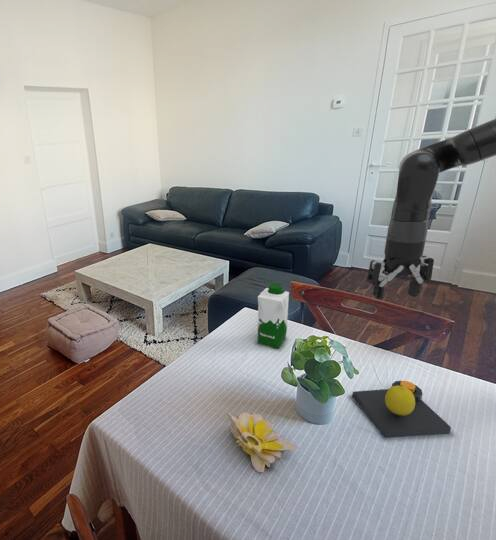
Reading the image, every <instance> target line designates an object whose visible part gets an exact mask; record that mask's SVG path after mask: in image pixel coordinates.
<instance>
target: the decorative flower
mask: <svg viewBox="0 0 496 540" xmlns="http://www.w3.org/2000/svg"><path fill="white" fill-rule="evenodd" d="M225 412H226V415H227V418H228V420H229V421H230V423H228V424H227V425H228V427H229V428H230V429H229V431H230V432H231V433H232V435H233V436H234V438H235V439H237V440H236V441H235V443H236V444H237V443H238V447H241V448H242V450H243V451H244V452H245V454H247V455H250V461H251V465H252V467H253V469H254V470H255V471H257V472H258V473H264V471H265V467H268V468H271V464H273V463H275V461H276V458H282V453H281V452H289V451H296V450H297V447H296V446H295V445H294V443H293V442H292V441H290V440H288V439H283V438H281V436H280V434H279V433H277V431H273V430H274V427H275V425H274V424H273V423H272V422H271V421H269V420H268V419H264V417H263V416H262V415H261V414H259V413H254V414H252V413H248V412H242V413H240V414H239V416H238V418H237V417H235V416H234V415H233V414H232V413H230V412H228V411H226V410H225Z"/></svg>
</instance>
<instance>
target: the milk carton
mask: <svg viewBox="0 0 496 540" xmlns="http://www.w3.org/2000/svg"><path fill="white" fill-rule="evenodd" d="M289 297H290V291H287V290H283V285H282V284H279V283H271V284H269V286H268V287H265V288H264V289H263V290H262V291H261V292H259V295H258V296H257V344H259V345H263V346H266V347H270V348H273V349H276V350H279V349H280V347H281V346H282V345H283V344H284V341H285V340H286V337H287V332H288V331H287V330H288V318H289V316H288V315H289V299H290V298H289Z"/></svg>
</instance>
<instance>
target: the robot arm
mask: <svg viewBox="0 0 496 540" xmlns="http://www.w3.org/2000/svg"><path fill="white" fill-rule="evenodd" d="M493 157H496V118H494V119H491V120H489V121H486V122H484V123H481V124H479V125H477V126H474V127H471V128H469V129H467V130H464V131H462V132H460V133H458V134H456V135H454V136H452V137H449V138H446V139H443V140H440V141H437V142H434V143H432V144H429V145H426V146H423V147H420V148H418V149H416V150H413V151H411V152H409V153H407V154H406V155H405V156H404V157H403V158H402V159H401V160H400V161H399V165H398V177H397V184H396V194H395V195H396V196H395V197H394V201H393V204H392V209H391V216H390V221H389V224H388V228H387V233H386V239H385V244H384V245H385V246H384V253H383V254H384V259H383V260H382V261H381V260H380V261H376V260H374V259H372V260H370V263H369V267H368V272H367V275H366V276H367V277H366V282H368V283H369V284H370V285H373V292H372V295H373V297H374V298H376V299H377V300H379V301H380V300H383V298H384V292H385V286H386V285H387V283H389V282H391V281H392V280H393V279H395V278H400V277H409V278H410V279H411V280H409V284H408V290H407V294H408V295H409V296H410V297H412V298H416V297H418V295H419V294H420V290H421V285H422V284H423V283H424V282H425V281H427V282H428V281H431V280H432V275H433V269H434V262H435V259H434V258H432V257H430V256H427V255H424V251H425V245H426V240H427V235H428V231H429V217H430V213H431V209H432V199H433V195H434V192H435V189H436V186H437V182H438V179H439V175H440V173H443V172H445V171H449V170H451V169H454V168H457V167H461V166H462V167H464V166H469V165H472V164H476V163H479V162H481V161H482V162H483V161H485V160H487V159H490V158H493ZM418 267H419V270H418V269H417V268H418Z"/></svg>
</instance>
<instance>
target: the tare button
mask: <svg viewBox="0 0 496 540" xmlns="http://www.w3.org/2000/svg"><path fill="white" fill-rule="evenodd" d="M400 381H401V382H400V386H403V387H406V388H407V389H409V390H410V391H411V392H412V393H414V392H415V385H416V384H415V383H413V382H411V381H408V380H400Z"/></svg>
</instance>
